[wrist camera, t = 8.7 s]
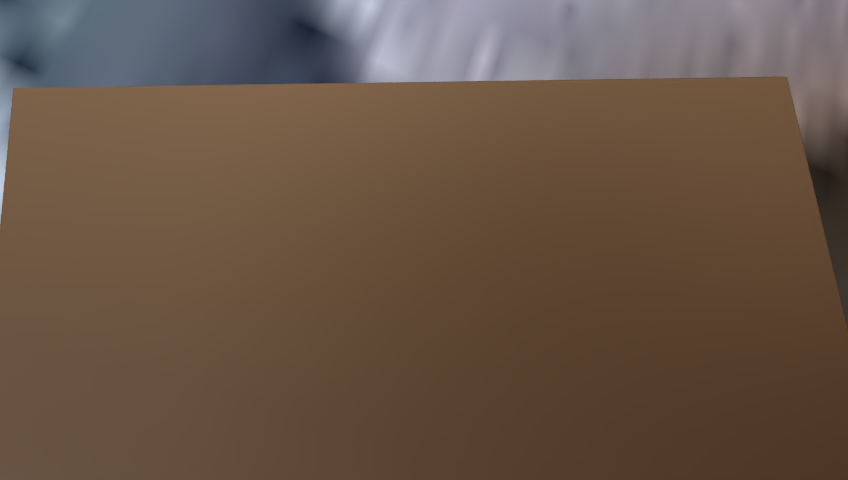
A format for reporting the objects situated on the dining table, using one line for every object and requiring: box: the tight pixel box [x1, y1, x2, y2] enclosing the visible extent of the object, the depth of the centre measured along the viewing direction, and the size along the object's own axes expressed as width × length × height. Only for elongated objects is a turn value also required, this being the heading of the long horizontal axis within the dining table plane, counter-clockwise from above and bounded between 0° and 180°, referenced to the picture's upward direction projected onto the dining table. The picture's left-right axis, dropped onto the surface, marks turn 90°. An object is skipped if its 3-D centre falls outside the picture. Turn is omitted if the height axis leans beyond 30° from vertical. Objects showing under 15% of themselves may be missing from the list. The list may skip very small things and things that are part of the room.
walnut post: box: [0, 77, 848, 480], centre depth 9 cm, size 5×5×13 cm
